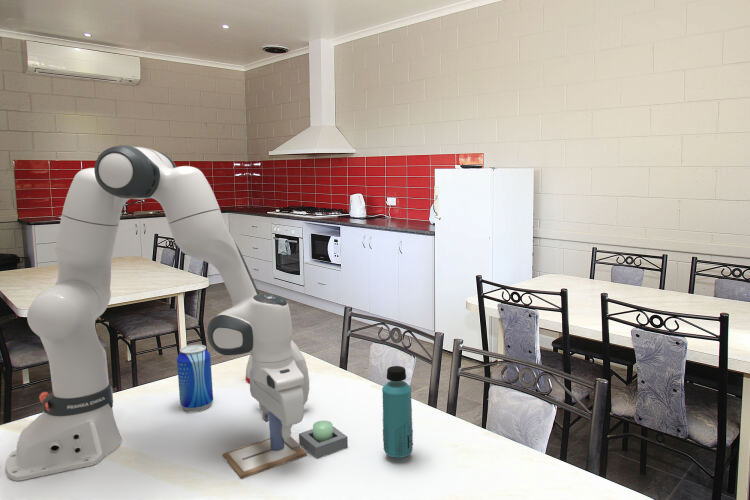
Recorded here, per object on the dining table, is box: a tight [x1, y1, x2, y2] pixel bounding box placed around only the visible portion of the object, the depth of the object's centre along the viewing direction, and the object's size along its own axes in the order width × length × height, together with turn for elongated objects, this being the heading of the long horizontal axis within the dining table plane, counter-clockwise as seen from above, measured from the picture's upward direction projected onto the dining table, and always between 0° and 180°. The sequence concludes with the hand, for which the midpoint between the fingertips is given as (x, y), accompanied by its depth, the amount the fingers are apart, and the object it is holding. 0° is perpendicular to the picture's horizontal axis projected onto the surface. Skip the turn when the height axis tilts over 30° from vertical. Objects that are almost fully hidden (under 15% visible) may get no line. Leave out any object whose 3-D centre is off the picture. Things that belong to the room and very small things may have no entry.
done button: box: [312, 420, 334, 443], centre depth 119 cm, size 4×4×4 cm
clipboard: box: [221, 436, 308, 479], centre depth 116 cm, size 15×11×1 cm
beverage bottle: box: [381, 365, 414, 458], centre depth 113 cm, size 6×7×20 cm
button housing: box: [298, 426, 349, 459], centre depth 120 cm, size 8×8×2 cm
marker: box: [268, 410, 284, 451], centre depth 117 cm, size 3×3×10 cm
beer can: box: [176, 344, 214, 413], centre depth 141 cm, size 8×8×16 cm
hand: (276, 428), depth 117 cm, fingers open, 8 cm apart
